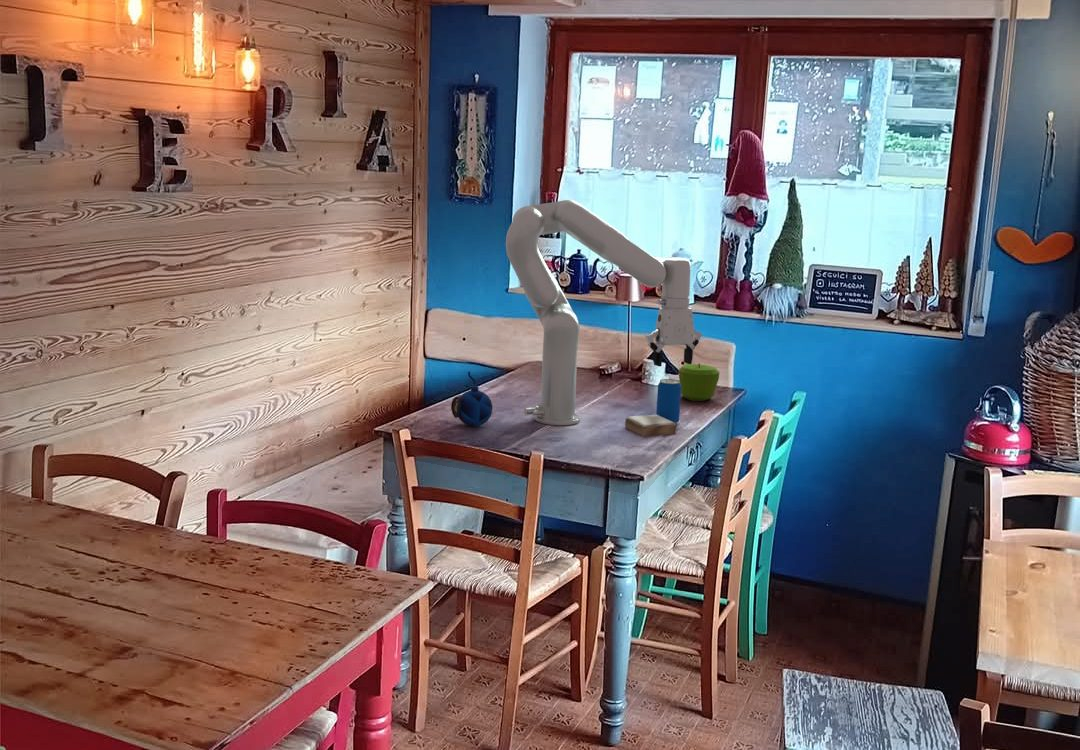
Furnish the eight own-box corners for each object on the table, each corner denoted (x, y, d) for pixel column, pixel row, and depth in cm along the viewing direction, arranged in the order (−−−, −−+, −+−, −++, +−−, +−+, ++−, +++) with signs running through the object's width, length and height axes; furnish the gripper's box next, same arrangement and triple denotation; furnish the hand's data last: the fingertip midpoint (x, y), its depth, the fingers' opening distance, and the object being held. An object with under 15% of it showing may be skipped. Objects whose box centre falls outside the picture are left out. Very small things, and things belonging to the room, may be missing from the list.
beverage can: (678, 420, 309) (681, 379, 307) (679, 426, 303) (681, 384, 300) (655, 419, 310) (658, 378, 307) (655, 424, 303) (658, 382, 301)
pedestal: (643, 436, 291) (643, 425, 290) (625, 427, 300) (625, 416, 299) (675, 433, 295) (676, 422, 294) (656, 424, 304) (657, 414, 303)
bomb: (447, 422, 297) (448, 368, 294) (485, 420, 301) (487, 367, 298) (457, 431, 288) (458, 376, 285) (496, 429, 292) (498, 374, 289)
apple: (724, 402, 334) (727, 366, 332) (689, 404, 330) (692, 367, 328) (704, 393, 346) (706, 358, 344) (670, 395, 341) (672, 359, 339)
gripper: (654, 306, 293) (652, 369, 296) (709, 303, 300) (706, 364, 303) (641, 302, 299) (638, 364, 303) (694, 300, 306) (692, 360, 310)
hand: (672, 364), depth 303 cm, fingers open, 9 cm apart
